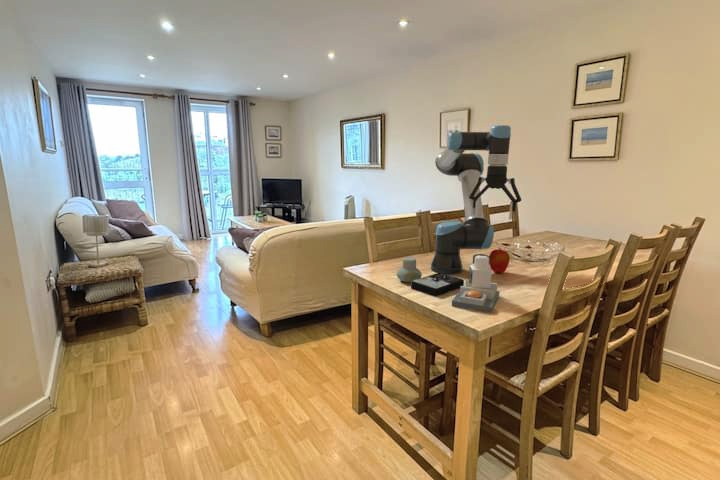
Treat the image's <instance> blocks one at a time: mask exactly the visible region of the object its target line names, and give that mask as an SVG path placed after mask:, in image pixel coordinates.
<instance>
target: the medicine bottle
mask: <svg viewBox="0 0 720 480" xmlns="http://www.w3.org/2000/svg"><path fill="white" fill-rule="evenodd" d="M489 260H490V257H489V255H488V254H484V253H477V254H474V255H473V256H472V264H469V270H468V271H469V272H468V273H469V274H468V279H469V283H470V286H471V287H472V288H490V287H491V283H492V274H493V270H492V269H491V268H490V264H489Z"/></svg>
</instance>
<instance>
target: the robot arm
mask: <svg viewBox="0 0 720 480" xmlns="http://www.w3.org/2000/svg"><path fill="white" fill-rule="evenodd" d="M511 130H512V129H511V126H510V125H508V124H506V125H501V124H500V125H492V126H491V127H490V131H451V132H449V133H448V134H447V137H446V147H445V148H444V150H443V151H441V152H440V153H439V154H438V155H437V156H436V157H435V163H434V164H435V166H436V169H437V170H438V171H439V172H440V173H441V174H443V175H446V176H450V177H451V176H452V177H453V176H454V177H455V176H456V177H457V180H458V181H459V182H461V183H460V184H461V190H462V198H463V199H462V201H463V209H464V216H465V220H464V221H463V224H462V221H444V222H441V223H438V224H437V226H436V231H435V250H434V251H435V252H434V256H433V258H432V261H431V264H430V270H431V271H433V272H434V273H442V274H446V275H454V274H460V273H462V272H463V268H464V266H463V262H462V258H461V255H460V254H461V250H487V249H489V248H491V247H492V244H493V241H494V235H495V230H494V228H495V227H494V226H493V225H491V224H489V221H488V219H487V218H485V215H484V210H483V203H482V202H483V201H482V195H483V194H485V192H486V191H487V190H488V189H492V190H493V189H496V190H500V189H501V190H502V191H503V192H504V193H505V194H506V196H507V197H508V198H509V200H510V201H511V202H510V205H509V212H508V213H509V214H508V215H509V216H508V219H509V220H512V219H513V212H515V211H516V208H517V203H520V202H521V201H522V198H521V195H520V193H519V191H518V190H519V189H518V188H517V186H516V181H515V178H514V177H512V178H507V174H508V166H507V165H508V164H509V152H510V144H511V143H510V142H511V136H512V134H511V132H512V131H511ZM466 151H487V152H488V157H487V164H488V166H487V171H486V177H483V176H482V175H483V173H484V169H485V167H484V165H485V164H484V163H485V162H484V159H483V157H482V156H481V154H479V153H474V152H470V153H464V152H466ZM484 181H485V182H486V185H485V186H484V187H483V188H482V189H481V188H480V187H481V185H482V184H483V183H484ZM507 182H508V184H509V185H510V186H511V188H512V191H513V194H514V195H515V196H513V194H512V193H511V191H510V190H509V189H508V187H507V186H506V183H507Z"/></svg>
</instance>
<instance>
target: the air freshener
mask: <svg viewBox="0 0 720 480" xmlns="http://www.w3.org/2000/svg"><path fill="white" fill-rule="evenodd" d="M396 277H397V279H399V280H400V281H402V282H403V283H408V284H411V282H412V281H413V280H417V279H420V278H422V271H421V270H420V269H419V268H417V259H416V258H415V257H404V258H402V267H400V268H399V269H398V270H397V271H396Z"/></svg>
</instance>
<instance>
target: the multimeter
mask: <svg viewBox="0 0 720 480" xmlns="http://www.w3.org/2000/svg"><path fill="white" fill-rule="evenodd" d="M464 284H465V280H464V279H463V278H459V277H457V276H452V275H451V274H444V273H438V272H436V273H433V274H431V275H427V276H424V277H421V278H420V279H417V280H413V281H412V282H411V283H410V288H411V289H412V290H415V291H418V292H419V293H423V294H426V295H430V296H432V297H435V298H436V297H440V296H442V295H445V294H447V293H451V292H453V291H455V290H460V287H461V286H465V285H464Z"/></svg>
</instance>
